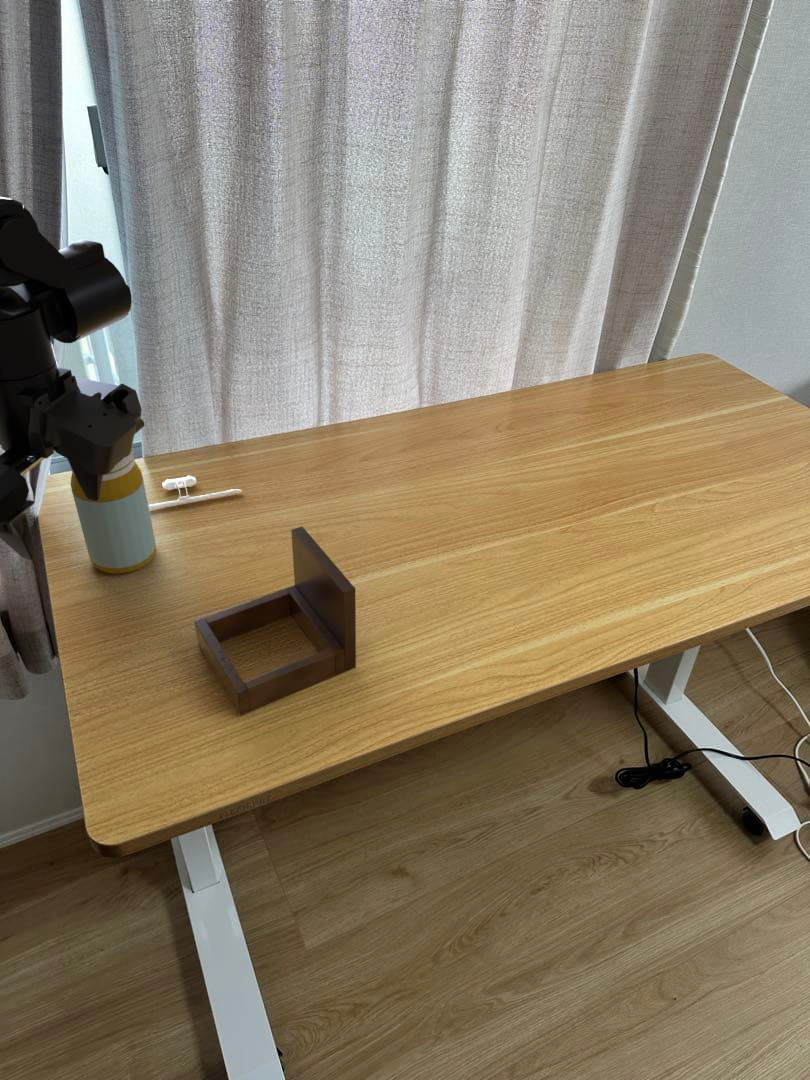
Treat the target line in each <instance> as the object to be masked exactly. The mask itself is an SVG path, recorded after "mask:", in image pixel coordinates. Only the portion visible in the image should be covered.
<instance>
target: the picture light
mask: <svg viewBox="0 0 810 1080" xmlns="http://www.w3.org/2000/svg"><path fill="white" fill-rule="evenodd" d="M196 484H197V479H196V477H195V476H192V475H189V474H188V475H187V476H183V477H178V478H172V479H171V478H167V479H166V480H165V481H163V482H162V483H161V485H162V488H163V490H167V491H172V490H177V489H178V493H179V494H178V495H179V497H178V498H177V499H174V500H168V501H163V502H157V503H152V504H148V506H149V511H153V510H160V509H164V508H171V507H175V506H180V505H181V506H182V505H186V504H192V503H196V502H197V503H198V502H202V501H208V500H213V499H218V498H223V497H224V498H225V497H230V496H235V495H238V494H240V493H241V492H243V489H239V488H235V489H234V488H232V489H228V490H222V491H217V492H213V493H212V492H211V493H207V494H200V495H196V496H191V495H189V493H188V488H187V487H190V488H191V487H193V486H194V485H196ZM183 488H184V489H185V492H186V495H184V496H182V495H181V490H180V489H183Z"/></svg>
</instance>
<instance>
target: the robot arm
mask: <svg viewBox="0 0 810 1080" xmlns="http://www.w3.org/2000/svg"><path fill="white" fill-rule="evenodd" d="M132 304H133V301H132V292H131V288H130V286H129V285H128V284H127V283H126V281H125V278H124V276H123V275H122V273H121V272H120V270H119V269H118V268H117V266H116V264H114V263H113V262H112V261H110V260H109V259H108V258H107V257H106V255H105V251H104V245H103V244H102V243H101V242H97V241H94V240H88V239H84V238H82V239H80V240H79V239H78V240H77V241H74V242H72V243H71V244H69V245H67V247H65V248H62V249H59V250H58V249H57V248H56V247H55V246H54V245H53V244H52V243H51V242H50V241H49V240H48V239H47V238H46V237H45V236H44V235H43V234H42V233H41V232H40V231H39V228H38V224H37V222H36V220H35V218H34V217H33V215H32V213H31V212H30V211H29V210H28V209H27V208H26V207H25V206H24V204H23V203H22V202H21V201H18V200H16V199H14V198H8V197H3V196H0V448H1V449H2V451H4V452H2V453H1V454H0V539H1V540H2V541H3V542H4V543H5V544H6V545H7V546H8V547H10V548H11V549H12V550H13V551H14V552H15V553H16V554H17V555H18V556H20V557H21V558H22V559H26V560H29V561H32V560H34V559H35V558H36V552H35V544H34V540H33V537H32V533H31V528H30V525H29V522H28V517H27V514H26V513H27V512H28V511H29V510H30V509H31V508H32V506H33V505H34V504H35V500H32V499H29V498H28V496H29V492H30V489H29V485H28V482H27V479H26V478H25V477H24V475H26V474H27V473H28V472H29V471H30V470H32V469H33V468H35V467H36V466H38V465H39V463H41V462H42V461H44V459H48V458H49V457H51V456H52V455H54V454H55V453H56V454H58V455H60V456H62V457H64V458H65V459H67V462H68V464H69V467H70V469H71V468H72V470H73V472H74V474H75V477H76V479H77V481H78V483H79V485H80V487H81V489H82V490H83V492H84V494H85V496H86V497H87V499H89V500H93V501H97V500H98V499H99V498H100V491H101V485H102V478H103V475H105V474H108V473H109V472H110V471H112V469H113V468H114V466H115V465H117V464H118V463H119V462H120V461H121V460H122V459H123V458H124V457H127V456H128V455H130V453H131V450H132V448H133V444H134V439H135V435H136V434H137V433H139V432H140V431H141V430H142V429H143V428H144V427H145V421H144V420H143V419H142V411H143V410H142V405H141V403H140V402H141V401H140V399H139V396H138V393H137V390H136V389H135V388H132V387H130V386H128V385H126V384H124V383H120V384H119V385H118V384H113V383H108V382H103V381H98V380H92V379H87V378H81V377H76V376H75V375H73V374H72V369H70V368H63V367H59V365H58V362H57V358H56V354H55V351H54V346H53V342H52V339H54V340H56V341H58V342H59V343H63V344H73V343H75V342H77V341H80V340H81V339H84V338H86V337H88V336H90V335H92V334H94V333H97V332H99V331H101V330H103V329H104V328H105V329H106V328H107V327H109V326H111V325H113V324H116V323H117V322H119V321H121V320H123V319H124V320H125V318H126V317H127V316H128V315H129V313H130V311H131V308H132ZM51 338H52V339H51ZM72 470H71V471H72Z"/></svg>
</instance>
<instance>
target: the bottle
mask: <svg viewBox="0 0 810 1080" xmlns="http://www.w3.org/2000/svg"><path fill="white" fill-rule="evenodd" d="M70 469H71V476H70V488H71V493H72V496H73V501H74V505H75V508H76V513H77V516H78V520H79V524H80V526H81V530H82V534H83V539H84V542H85V546H86V550H87V554H88V557H89V561H90V563H91V564H92V566H93V567H95V568H96V569H98V570H99V571H102V572H104V573H107V574H110V575H126V574H131V573H134V572H138V571H139V570H141V569H143V568H145V567H146V566H147V565H148V564H149V563H150V562H151V561H152V559H154V557H155V555H156V553H157V544H156V537H155V532H154V527H153V521H152V517H151V510H149V506H148V505H149V502H148V497H147V492H146V487H145V481H144V477H143V473H142V470H141V468H140V467H139V465H138V464H137V462H136V459H135V455H134V448H133V447H132V450H131V453H130V455H128V456H127V457H124V458H123V459H122V460H121V461H120V462H119V463H118V464H117V465H115V466H114V468H113V469H112V471H110V472H109V473H108V474H105V475H103V478H102V485H101V491H100V498H99V499H98V500H97V501H93V500H89V499H87V497H86V496H85V494H84V492H83V490H82V489H81V487H80V485H79V483H78V481H77V479H76V477H75V474H74V472H73V470H72V468H71V467H70Z"/></svg>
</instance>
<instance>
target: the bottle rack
mask: <svg viewBox="0 0 810 1080" xmlns="http://www.w3.org/2000/svg"><path fill="white" fill-rule="evenodd" d="M290 531H291V532H290V533H291V549H292V561H293V575H294V576H293V578H294V584H293V585H291V586H288V587H286V588H282V589H280V590H277V591H274V592H270V593H267V594H266V595H263V596H260V597H257V598H255V599H252V600H249V601H246V602H243V603H239V604H238V605H235V606H232V607H229V608H226V609H224V610H223V609H222V610H221V611H218V612H215V613H213V614H209V615H207V616H205V617H201V618H199V619H195V620H194V621H193V623H194V629H195V635H196V640H197V641H196V642H197V644H198V646H199V648H200V649H201V651H202V653H203V655H204V656H205V658H206V660H207V661H208V663H209V665H210V667H211V668H212V670H213V673H214V674H215V676H216V677H217V679H218V680H219V682H220V684H221V685H222V687H223V689H224V692H225V693H226V694H227V696H228V698H229V700H230V701H231V703H232V705H233V706H234V708H235V710H236V712H237V713H238V715H239V716H240V717H242V716H244V715H246V714H249V713H251V712H254V711H256V710H258V709H261V708H262V707H265V706H268V705H271V704H273V703H275V702H277V701H280V700H282V699H284V698H287V697H289V696H291V695H294V694H296V693H299V692H301V691H303V690H306V689H308V688H310V687H313V686H315V685H318V684H320V683H323V682H324V681H327V680H329V679H332V678H334V677H336V676H339V675H342V674H344V673H346V672H348V671H351V670H353V669H355V668H357V639H356V638H357V637H356V636H357V635H356V634H357V633H356V632H357V631H356V630H357V628H356V627H357V625H356V624H357V621H356V619H357V618H356V612H357V611H356V587H355V586H354V585H353V584H352V583H351V582H350V580H349V579H348V578H347V577H346V575H344V573H343V572H342V571H341V570H340V569H339V567H338V565H336V564H335V562H333V560H332V559H331V558H330V557H329V556H328V555H327V553H326V552H325V551H324V550H323V549H322V547H320V545H319V544H318V542H317V541H315V539H314V538H313V537H312V536H311V535H310V534H309V532H308V531H307V530H306V528H304V526H302V525H301V526H298V527H295V528H292V529H291V530H290ZM290 616H291V617H292V618H293V619H294V621H295V623H297V625H298V626H299V627H300V629H301V631H302V632H303V633H304V634H305V636H306V637H307V638H308V640H309V641H310V643H311V644H312V645H313V647H314V648H315V649H316V651H317V652H315V653H312V654H309V655H307V656H305V657H303V658H300V659H297V660H295V661H293V662H290V663H288V664H285V665H283V666H280V667H278V668H275V669H273V670H271V671H267V672H265V673H264V674H261V675H258V676H256V677H253V678H250V679H247V680H246V681H243V679H242V678H241V676H240V674H239V673H238V671H237V669H236V668H235V667H234V664H233V663H232V661H231V659H230V658H229V657H228V655H227V653H226V652H225V650H224V648H223V647H222V645H221V642H224V641H226V640H230V639H232V638H235V637H237V636H241V635H242V634H245V633H248V632H251V631H253V630H256V629H259V628H261V627H264V626H267V625H269V624H272V623H275V622H277V621H280V620H283V619H286V618H288V617H290Z"/></svg>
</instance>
